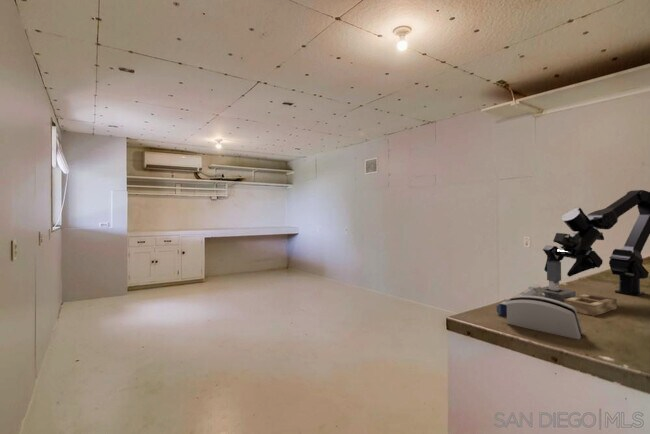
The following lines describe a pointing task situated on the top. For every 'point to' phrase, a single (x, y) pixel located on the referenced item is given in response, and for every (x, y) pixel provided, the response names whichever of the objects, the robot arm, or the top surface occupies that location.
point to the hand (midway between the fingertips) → (556, 273)
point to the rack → (592, 304)
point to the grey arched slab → (544, 315)
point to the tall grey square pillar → (554, 275)
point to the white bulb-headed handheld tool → (531, 291)
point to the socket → (558, 294)
